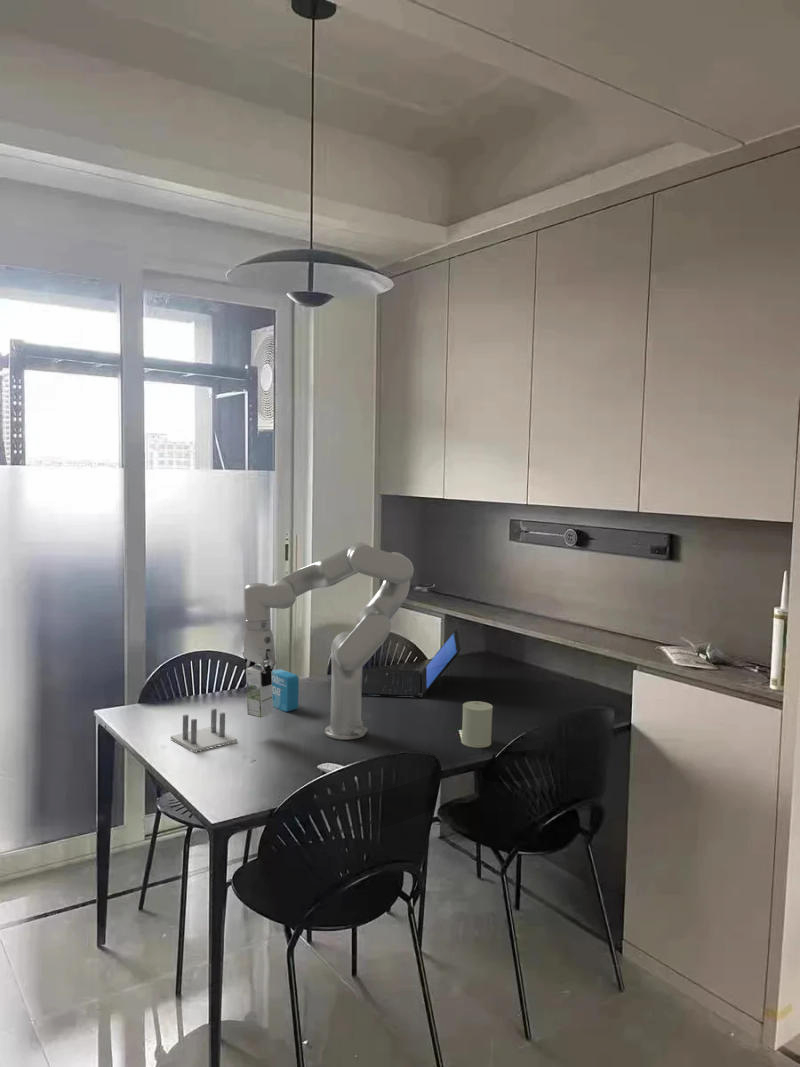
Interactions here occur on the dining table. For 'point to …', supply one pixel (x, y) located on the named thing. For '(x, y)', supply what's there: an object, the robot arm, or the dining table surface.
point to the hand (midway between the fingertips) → (259, 682)
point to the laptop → (410, 674)
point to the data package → (285, 690)
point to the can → (477, 724)
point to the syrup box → (258, 693)
